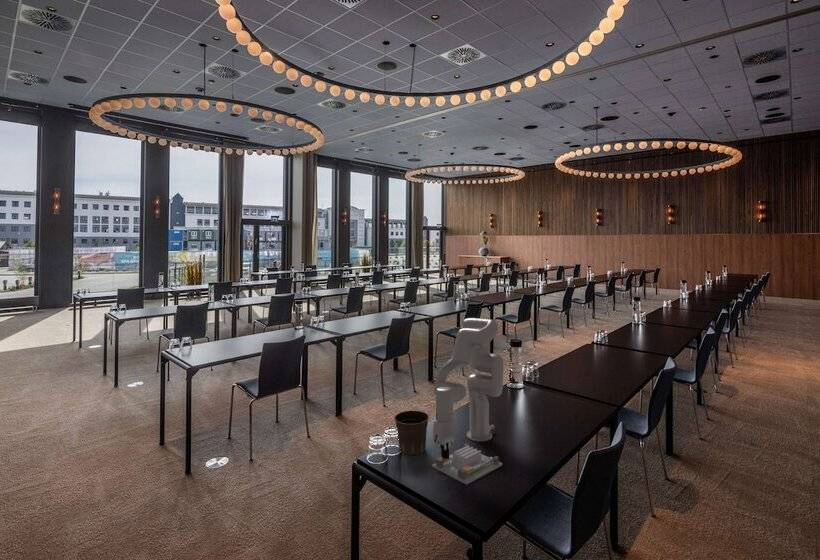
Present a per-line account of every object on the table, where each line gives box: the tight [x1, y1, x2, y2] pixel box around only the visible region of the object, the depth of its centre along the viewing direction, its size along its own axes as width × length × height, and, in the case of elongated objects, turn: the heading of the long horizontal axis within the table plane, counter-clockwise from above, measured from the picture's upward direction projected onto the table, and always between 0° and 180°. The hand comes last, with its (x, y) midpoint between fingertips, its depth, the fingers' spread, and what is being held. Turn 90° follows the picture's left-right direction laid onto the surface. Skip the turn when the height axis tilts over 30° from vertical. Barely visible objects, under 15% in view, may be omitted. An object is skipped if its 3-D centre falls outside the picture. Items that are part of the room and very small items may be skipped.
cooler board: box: [431, 443, 503, 485], centre depth 194 cm, size 23×20×6 cm
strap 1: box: [438, 453, 453, 463], centre depth 200 cm, size 19×3×2 cm, turn 131°
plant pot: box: [394, 410, 430, 456], centre depth 211 cm, size 16×16×16 cm
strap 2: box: [461, 456, 494, 475], centre depth 190 cm, size 19×3×2 cm, turn 131°
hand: (445, 457), depth 195 cm, fingers closed
